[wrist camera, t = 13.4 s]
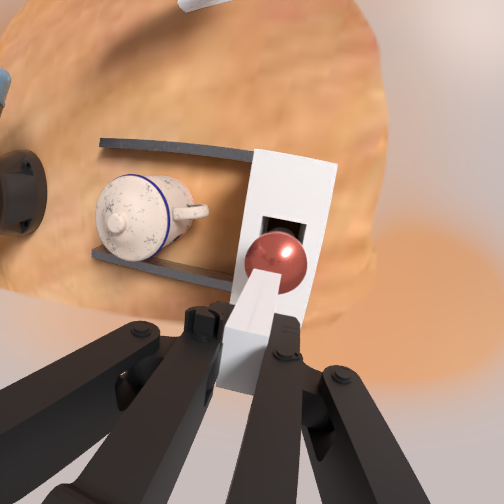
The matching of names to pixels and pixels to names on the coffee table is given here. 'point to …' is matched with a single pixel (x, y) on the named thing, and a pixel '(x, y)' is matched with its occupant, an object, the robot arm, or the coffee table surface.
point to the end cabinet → (286, 215)
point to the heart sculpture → (197, 4)
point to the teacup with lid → (144, 215)
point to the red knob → (278, 257)
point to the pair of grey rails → (164, 266)
